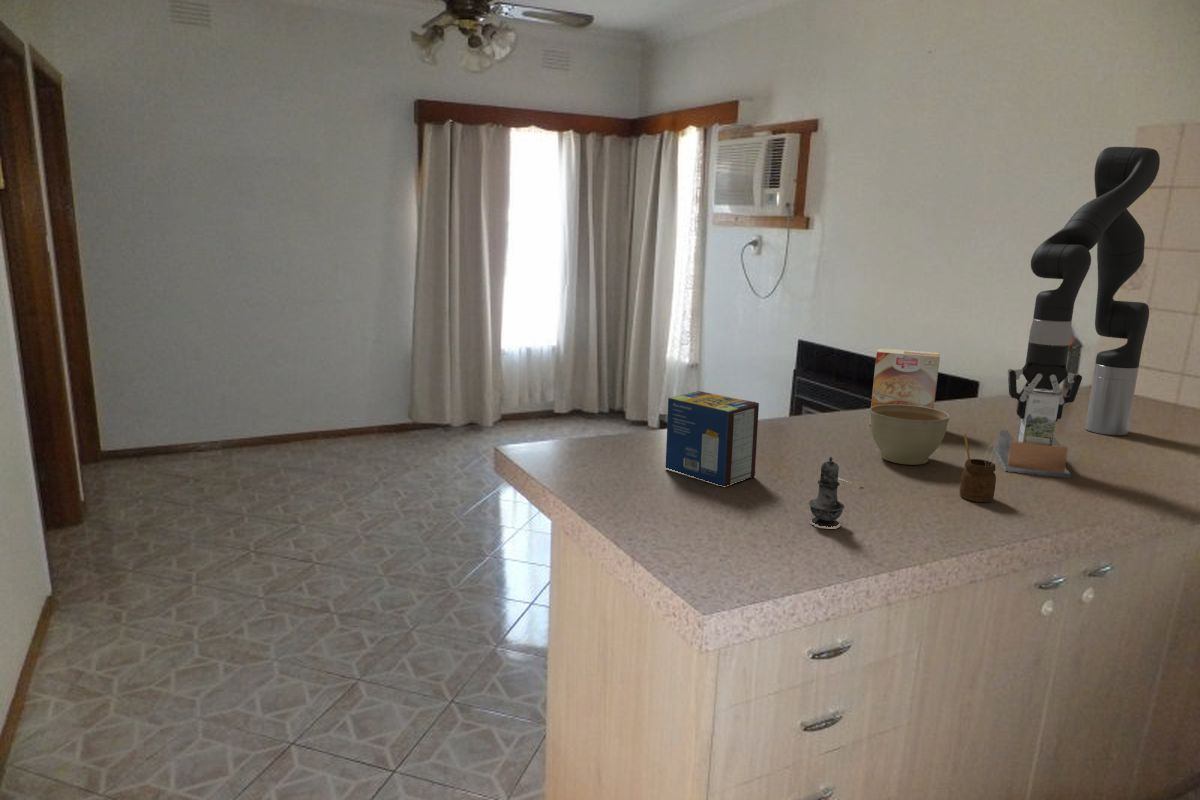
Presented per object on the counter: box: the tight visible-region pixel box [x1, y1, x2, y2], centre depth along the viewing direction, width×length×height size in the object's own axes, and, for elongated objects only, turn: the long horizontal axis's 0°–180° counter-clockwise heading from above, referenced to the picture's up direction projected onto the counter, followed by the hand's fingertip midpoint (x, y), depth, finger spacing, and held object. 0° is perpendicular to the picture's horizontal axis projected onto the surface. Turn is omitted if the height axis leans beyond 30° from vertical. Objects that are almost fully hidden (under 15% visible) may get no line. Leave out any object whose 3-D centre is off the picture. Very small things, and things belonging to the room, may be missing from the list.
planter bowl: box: [869, 404, 950, 466], centre depth 171 cm, size 16×16×11 cm
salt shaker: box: [808, 456, 845, 527], centre depth 132 cm, size 6×6×12 cm
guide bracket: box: [993, 429, 1071, 479], centre depth 171 cm, size 18×12×6 cm, turn 161°
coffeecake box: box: [868, 347, 941, 424], centre depth 200 cm, size 15×7×20 cm, turn 68°
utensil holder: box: [959, 433, 1000, 503], centre depth 147 cm, size 6×6×12 cm
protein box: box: [665, 390, 760, 486], centre depth 158 cm, size 10×15×16 cm
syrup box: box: [1017, 389, 1059, 445], centre depth 167 cm, size 6×6×14 cm
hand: (1037, 419), depth 167 cm, fingers closed on syrup box, 5 cm apart
